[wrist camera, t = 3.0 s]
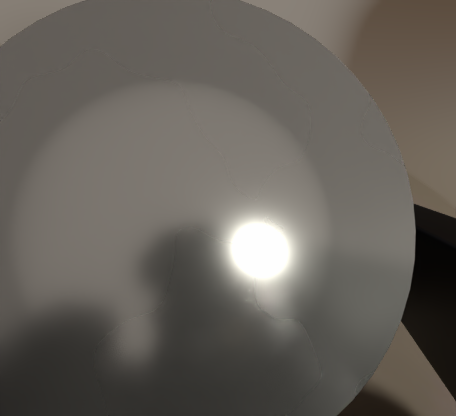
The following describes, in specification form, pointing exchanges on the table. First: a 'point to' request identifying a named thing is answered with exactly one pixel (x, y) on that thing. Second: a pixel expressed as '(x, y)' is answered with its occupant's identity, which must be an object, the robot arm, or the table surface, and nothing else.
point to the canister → (192, 216)
